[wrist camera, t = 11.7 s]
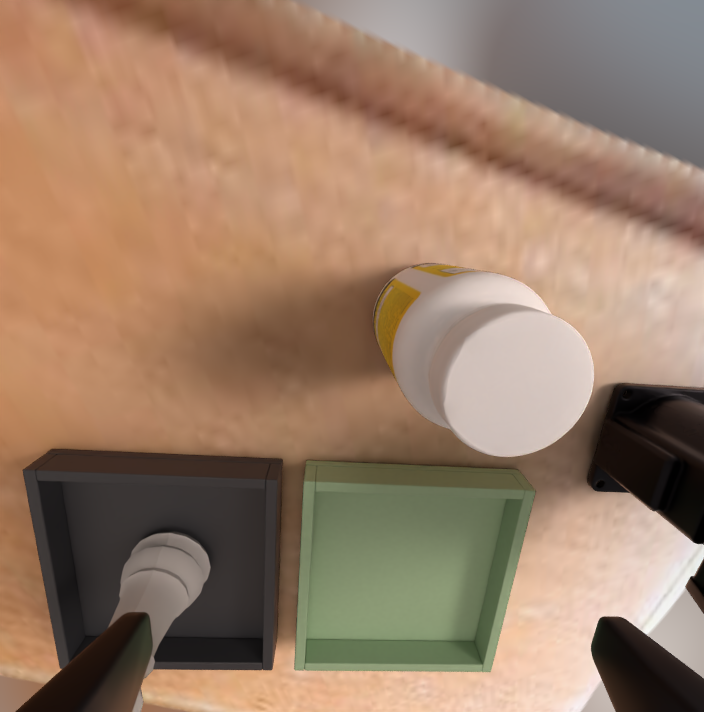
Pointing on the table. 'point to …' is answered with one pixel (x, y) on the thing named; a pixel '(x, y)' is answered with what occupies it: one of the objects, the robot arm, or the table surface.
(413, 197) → the table surface
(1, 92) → the table surface
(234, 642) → the charcoal tray
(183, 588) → the rook chess piece
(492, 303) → the supplement bottle
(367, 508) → the green tray
